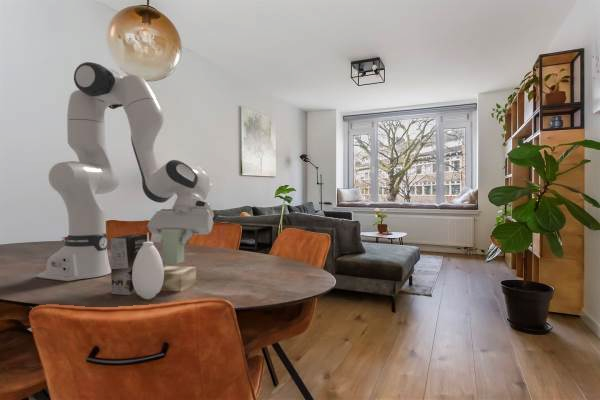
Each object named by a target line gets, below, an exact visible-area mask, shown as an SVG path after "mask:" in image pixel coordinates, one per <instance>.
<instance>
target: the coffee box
mask: <svg viewBox="0 0 600 400" xmlns="http://www.w3.org/2000/svg"><path fill="white" fill-rule="evenodd" d="M110 242H111V243H110V245H111V246H110V250H111V251H110V255H111V256H110V268H111V273H110V282H111V283H110V285H111V286H110V293H111V295H123V296H130V295H134V294H137V293H136V291H135V289H134V286H133V282H132V270H133V265H134V261H135V258H136V256H137V253H138V251H139V250H140V248H141V247H142V246H143V242H147V234H146V233H145V234H128V235H122V236H115V237H110Z"/></svg>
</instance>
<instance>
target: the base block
mask: <svg viewBox="0 0 600 400" xmlns="http://www.w3.org/2000/svg"><path fill="white" fill-rule="evenodd" d="M163 268H164V281H163V285H162V288H161V290H160V292H161V291H163V292H183V291H185V290H187V289H188V288H190V287H191V286H193V285H195V284H196V283H197V267H196V266H175V265H166V266H163Z"/></svg>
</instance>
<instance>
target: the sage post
mask: <svg viewBox="0 0 600 400" xmlns="http://www.w3.org/2000/svg"><path fill="white" fill-rule="evenodd" d="M184 235H185V234H184V229H167V230H163V244H162V263H163V265H164V264H170V265H174V264H175V265H177V264H181V263H183V262H185V245H181V244H180V243H179V240H180V237H183V236H184Z"/></svg>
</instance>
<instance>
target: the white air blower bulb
mask: <svg viewBox="0 0 600 400" xmlns="http://www.w3.org/2000/svg"><path fill="white" fill-rule="evenodd" d="M146 235H147V242H143V246H142V247H141V248H140V250H139V251H138V253H137V256H136V258H135V261H134V265H133V270H132V282H133V286H134V289H135V291H136V293H135V294H137V296H140V297H141V299H145V300H152V299H153V298H155V297H156V296H157V294H160V292H161V291H160V290H161V288H162V285H163V281H164V268H163V267H164V264H163V258H162V257H161V255H160V252H159V251H158V249H157V247H156V246H155V245H154V241H150V234H149V232H147V233H146Z"/></svg>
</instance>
